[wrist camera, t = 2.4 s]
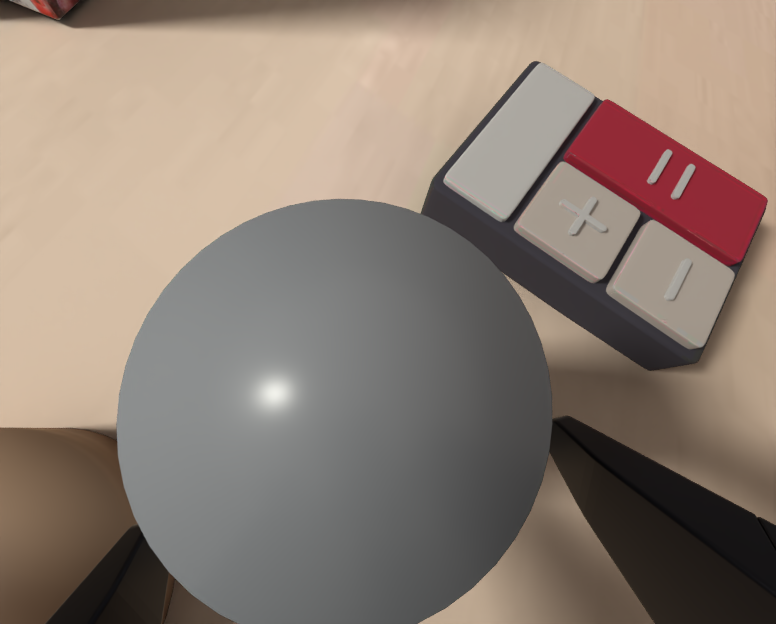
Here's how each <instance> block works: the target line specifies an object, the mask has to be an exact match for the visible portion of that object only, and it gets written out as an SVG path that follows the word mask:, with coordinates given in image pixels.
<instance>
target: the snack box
mask: <svg viewBox="0 0 776 624" xmlns="http://www.w3.org/2000/svg"><path fill="white" fill-rule="evenodd" d="M10 1H12V2H15V3H17V4H19V5H21V6H24V7H26V8H29V9H31V10H34V11H36V12H39V13H41V14H43V15H46V16H49V17H52V18H54V19H56V20H60V19H61V18H62V17H63V16H64V15H65V14H66V13H67V12H68V11H69V10H70V9H72V8H73V7H74V6H75V5H76V4H77V3H78V2H79V1H80V0H10Z"/></svg>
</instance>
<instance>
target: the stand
mask: <svg viewBox="0 0 776 624" xmlns="http://www.w3.org/2000/svg"><path fill="white" fill-rule="evenodd" d="M135 524H137V521H136V519H135V517H134V515H133V512H132V509H131V506H130V503H129V500H128V497H127V494H126V491H125V489H124V485H123V480H122V474H121V469H120V464H119V458H118V445H117V441H116V440H114V439H112V438H110V437H108V436H105V435H102V434H99V433H95V432H92V431H88V430H80V429H73V428H0V624H45V623H46V622H47V621H48V620H49V618H50V617H51V616H52V615H53V614H54V613H55V612H56V611H57V609H58V608H59V607H60V606H61V605H62V604H63V603H64V601H65V600H66V599H67V598H68V597H69V596H70V595H71V593H72V592H73V591H74V590H75V589H76V588H77V587H78V586H79V584H80V583H81V582H82V581H83V580H84V579H85V578H86V576H87V575H88V574H89V573H90V572H91V571H92V570H93V568H94V567H95V566H96V565H97V564H98V563H99V562H100V561H101V559H102V558H103V557H104V556H105V555H106V554H107V553H108V551H109V550H110V549H111V548H112V547H113V546H114V545H115V543H116V542H117V541H118V540H119V539H120V538H121V537H122V535H123V534H124V533H125V532H126V531H127V530H128V529H129V528H130V527H131V526H133V525H135ZM174 579H175V578H174V577H173V576H172V575H171V574H170V573H169V576H168V583H167V590H166V597H165V604H164V611H163V618H162V624H163V622H164V620H165V617H166V614H167V611H168V607H169V603H170V599H171V596H172V592H173V585H174Z"/></svg>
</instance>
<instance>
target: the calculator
mask: <svg viewBox="0 0 776 624" xmlns="http://www.w3.org/2000/svg"><path fill="white" fill-rule="evenodd" d="M767 202H768V200H767V198H766V197H765V196H763V195H762V194H760V193H759V192H757V191H755V190H754V189H752V188H751V187H749V186H747V185H746V184H744V183H743V182H741V181H739V180H738V179H736V178H735V177H733V176H731V175H730V174H728V173H727V172H725V171H723V170H722V169H720V168H719V167H717V166H715V165H714V164H712V163H710V162H709V161H707V160H706V159H704V158H702V157H701V156H699V155H698V154H696V153H694V152H693V151H691V150H690V149H688V148H686V147H685V146H683V145H682V144H680V143H678V142H677V141H675V140H673V139H672V138H670V137H669V136H667V135H665V134H664V133H662V132H661V131H659V130H657V129H656V128H654V127H653V126H651V125H649V124H648V123H646V122H645V121H643V120H641V119H640V118H638V117H636V116H635V115H633V114H632V113H630V112H628V111H627V110H625V109H624V108H622V107H620V106H619V105H617V104H616V103H614V102H612V101H610V100H608V99H607V100H604V101H602V100H600V99H599V98H597V97H595V96H594V94H592V93H591V92H590V91H588V90H586V89H585V88H583V87H582V86H580V85H578V84H577V83H575V82H573V81H572V80H570V79H569V78H567V77H565V76H564V75H562V74H561V73H559V72H557V71H556V70H554V69H553V68H551V67H549V66H548V65H546V64H544V63H541V62H538V61H534V62H532V63H531V64H529V66H528V67H527V68H526V69H525V70H524V71H523V73H522V74H521V75H520V76H519V77H518V78H517V80H516V81H515V82H514V83H513V84H512V86H511V87H510V88H509V89H508V90H507V91H506V93H505V94H504V95H503V96H502V97H501V99H500V100H499V101H498V102H497V103H496V104H495V106H494V107H493V108H492V109H491V110H490V112H489V113H488V114H487V115H486V116H485V117H484V119H483V120H482V121H481V122H480V123H479V124H478V126H477V127H476V128H475V129H474V130H473V132H472V133H471V134H470V135H469V136H468V137H467V139H466V140H465V141H464V142H463V143H462V145H461V146H460V147H459V148H458V149H457V150H456V152H455V153H454V154H453V155H452V156H451V158H450V159H449V160H448V161H447V162H446V163H445V165H444V166H443V167H442V168H441V169H440V171H439V172H438V173H437V174H436V175H435V177H434V178H433V179H432V182H431V184H430V187H429V190H428V193H427V196H426V199H425V202H424V205H423V208H422V211H421V214H422V215H424V216H427V217H429V218H431V219H433V220H435V221H437V222H439V223H441V224H443V225H445V226H447V227H448V228H450V229H452V230H453V231H455V232H456V233H458V234H459V235H461V236H462V237H464V238H465V239H466V240H468V241H469V242H471V243H472V244H473V245H474V246H475V247H476V248H478V249H479V250H480V251H481V252H482V253H483V254H485V255H486V256H487V257H488V258H489V259H490V260H491V261H492V262H493V264H494V265H495V266H496V267H497V268H498V269H499V270H500V271H501V272H503V273H504V274H505V275H507V276H508V277H510V278H511V279H513V280H514V281H515V282H517V283H518V284H520V285H521V286H523V287H524V288H525V289H527V290H528V291H530V292H531V293H533V294H534V295H536V296H537V297H538V298H540V299H541V300H543V301H544V302H546V303H547V304H548V305H550V306H551V307H553V308H554V309H556V310H557V311H559V312H560V313H561V314H563V315H564V316H566V317H567V318H569V319H570V320H572V321H573V322H575V323H576V324H578V325H579V326H581V327H583V328H584V329H586V330H587V331H589V332H590V333H592V334H593V335H595V336H596V337H598V338H599V339H601V340H602V341H604V342H605V343H607V344H608V345H610V346H611V347H613V348H614V349H616V350H617V351H619V352H620V353H622V354H623V355H625V356H626V357H628V358H629V359H631V360H633V361H634V362H636V363H637V364H639V365H640V366H642V367H643V368H645V369H647V370H650V371H651V370H658V369H665V368H671V367H677V366H683V365H689V364H694V363H696V362H698V361H699V359H700V357H701V355H702V353H703V351H704V348H705V346H706V344H707V342H708V339H709V337H710V335H711V333H712V330H713V328H714V326H715V323H716V321H717V319H718V317H719V314H720V312H721V310H722V308H723V305H724V303H725V301H726V299H727V296H728V294H729V292H730V290H731V287H732V285H733V283H734V280H735V278H736V276H737V274H738V271H739V269H740V267H741V265H742V262H743V260H744V258H745V256H746V253H747V251H748V249H749V247H750V244H751V242H752V240H753V237H754V235H755V233H756V231H757V228H758V226H759V224H760V222H761V219H762V217H763V215H764V213H765V210H766V206H767Z"/></svg>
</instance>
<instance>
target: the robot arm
mask: <svg viewBox="0 0 776 624" xmlns="http://www.w3.org/2000/svg"><path fill="white" fill-rule="evenodd" d="M549 452H550V454H551V456H552V458H553V460H554V462H555V463H556V465H557V467H558V469H559V471H560V473H561V475H562V477H563V478H564V480H565V482H566V484H567V486H568V488H569V490H570V492H571V493H572V495H573V497H574V499H575V501H576V503H577V505H578V506H579V508H580V510H581V512H582V514H583V515H584V517H585V518H586V520H587V522H588V523H589V525H590V526H591V528H592V529H593V531H594V532H595V534H596V535H597V537H598V538H599V540H600V541H601V543H602V544H603V546H604V547H605V549H606V550H607V552H608V553H609V555H610V557H611V558H612V560H613V561H614V563H615V564H616V566H617V567H618V569H619V570H620V572H621V573H622V575H623V576H624V578H625V579H626V581H627V582H628V584H629V585H630V587H631V588H632V590H633V591H634V593H635V594H636V596H637V597H638V599H639V600H640V602H641V603H642V605H643V606H644V608H645V609H646V611H647V612H648V614H649V615H650V617H651V618H652V620H653V622H654V623H655V624H776V525H774V524H772V523H770V522H768V521H767V520H765V519H763V518H761V517H756V515H755V514H753V513H751V512H749V511H747V510H746V509H744V508H742V507H740V506H738V505H736V504H734V503H732V502H731V501H729V500H727V499H725V498H723V497H721V496H719V495H717V494H715V493H714V492H712V491H710V490H708V489H706V488H704V487H702V486H700V485H699V484H697V483H695V482H693V481H691V480H689V479H687V478H685V477H683V476H682V475H680V474H678V473H676V472H674V471H672V470H670V469H668V468H667V467H665V466H663V465H661V464H659V463H657V462H655V461H653V460H651V459H650V458H648V457H646V456H644V455H642V454H640V453H638V452H636V451H635V450H633V449H631V448H629V447H627V446H625V445H623V444H621V443H619V442H618V441H616V440H614V439H612V438H610V437H608V436H606V435H604V434H603V433H601V432H599V431H597V430H595V429H593V428H591V427H589V426H587V425H586V424H584V423H582V422H580V421H578V420H576V419H574V418H572V417H570V416H562V417H558V418H554V419H552V431H551V440H550V449H549ZM168 576H169V572H168V570H167V569H166V568H165V566H164V565H163V564H162V562H161V561H160V560H159V558H158V557H157V555H156V554H155V553H154V551H153V550H152V549H151V547H150V546H149V544H148V542H147V540H146V538H145V537H144V535H143V533H142V531H141V529H140V527H139V525H138V523H137V524H135V525H133V526H131V527H130V528H129V529H128V530H127V531H126V532H125V533H124V534H123V535H122V537H121V538H120V539H119V540H118V541H117V542H116V543H115V545H114V546H113V547H112V548H111V549H110V550H109V551H108V553H107V554H106V555H105V556H104V557H103V558H102V559H101V561H100V562H99V563H98V564H97V565H96V566H95V567H94V568H93V570H92V571H91V572H90V573H89V574H88V575H87V576H86V578H85V579H84V580H83V581H82V582H81V583H80V584H79V586H78V587H77V588H76V589H75V590H74V591H73V592H72V593H71V595H70V596H69V597H68V598H67V599H66V600H65V601H64V603H63V604H62V605H61V606H60V607H59V608H58V609H57V611H56V612H55V613H54V614H53V615H52V616H51V617H50V618H49V620H48V621H47V622H46V623H45V624H162V618H163V611H164V604H165V597H166V590H167V583H168Z"/></svg>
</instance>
